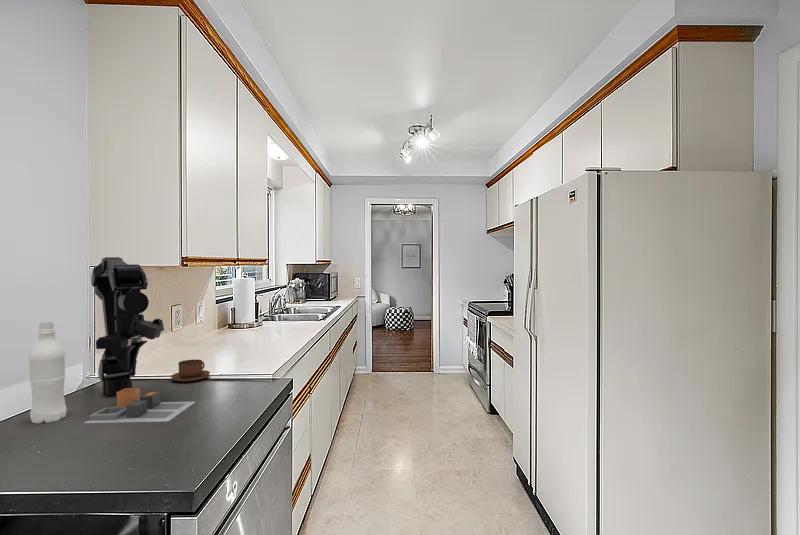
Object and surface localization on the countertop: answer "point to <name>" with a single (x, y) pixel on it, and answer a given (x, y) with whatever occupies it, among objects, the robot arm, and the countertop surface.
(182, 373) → the cup and saucer
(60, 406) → the water bottle
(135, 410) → the panel
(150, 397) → the block
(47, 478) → the countertop surface
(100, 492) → the countertop surface
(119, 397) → the cap
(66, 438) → the countertop surface
